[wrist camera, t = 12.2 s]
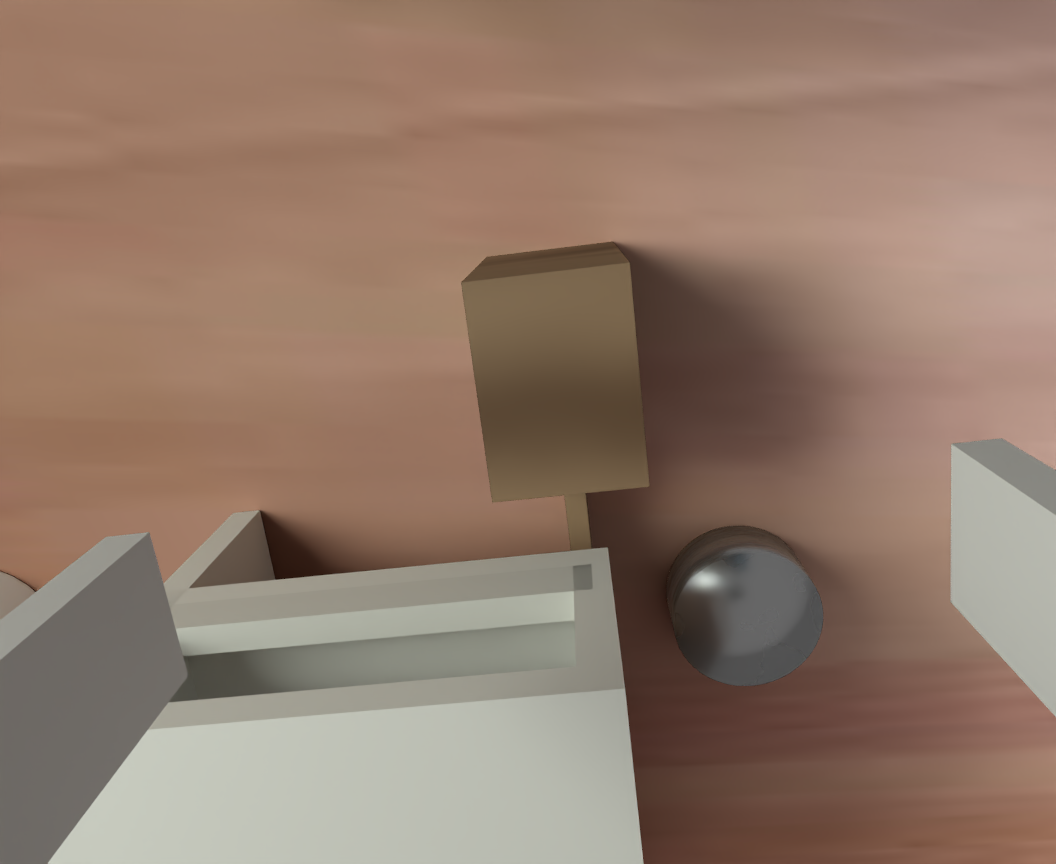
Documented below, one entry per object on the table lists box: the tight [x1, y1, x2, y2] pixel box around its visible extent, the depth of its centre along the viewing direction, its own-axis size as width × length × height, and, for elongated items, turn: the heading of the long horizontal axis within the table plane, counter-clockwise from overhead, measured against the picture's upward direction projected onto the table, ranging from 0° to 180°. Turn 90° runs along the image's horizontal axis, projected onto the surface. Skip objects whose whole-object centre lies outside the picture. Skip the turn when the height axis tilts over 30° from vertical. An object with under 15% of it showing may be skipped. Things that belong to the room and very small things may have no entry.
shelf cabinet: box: [48, 510, 644, 864], centre depth 32 cm, size 22×16×16 cm
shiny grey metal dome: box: [666, 526, 823, 686], centre depth 37 cm, size 6×6×3 cm
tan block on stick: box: [461, 242, 649, 551], centre depth 32 cm, size 19×5×9 cm, turn 7°
